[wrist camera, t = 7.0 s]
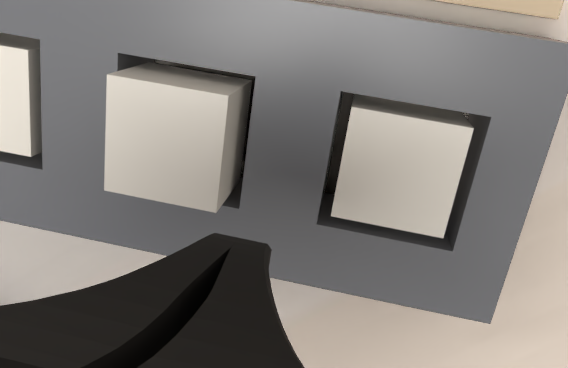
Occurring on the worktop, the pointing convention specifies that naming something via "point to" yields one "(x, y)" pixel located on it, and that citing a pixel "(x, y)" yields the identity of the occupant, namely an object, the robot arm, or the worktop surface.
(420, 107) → the button end near
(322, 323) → the worktop surface
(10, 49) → the button end far
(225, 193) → the button middle
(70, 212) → the button board
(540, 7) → the pattern card
